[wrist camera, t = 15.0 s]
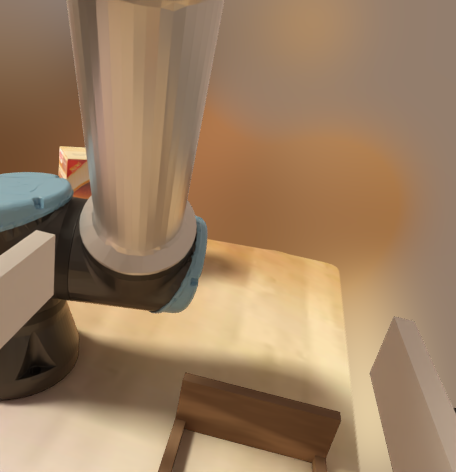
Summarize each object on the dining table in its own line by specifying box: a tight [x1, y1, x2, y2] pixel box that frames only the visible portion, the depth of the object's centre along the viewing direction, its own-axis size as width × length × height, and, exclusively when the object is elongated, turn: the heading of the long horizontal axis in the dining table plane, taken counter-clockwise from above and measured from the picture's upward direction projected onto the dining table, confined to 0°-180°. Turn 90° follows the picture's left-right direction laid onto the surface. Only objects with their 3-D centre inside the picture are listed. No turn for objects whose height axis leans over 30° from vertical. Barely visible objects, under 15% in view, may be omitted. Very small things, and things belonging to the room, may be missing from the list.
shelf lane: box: [158, 373, 341, 472], centre depth 44 cm, size 12×17×7 cm
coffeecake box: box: [59, 146, 92, 199], centre depth 79 cm, size 15×7×20 cm, turn 119°
